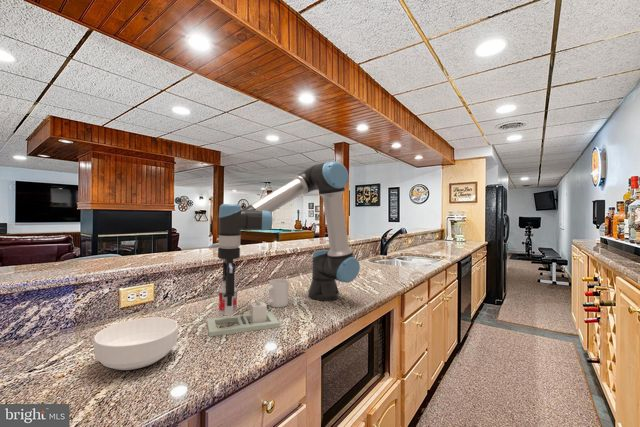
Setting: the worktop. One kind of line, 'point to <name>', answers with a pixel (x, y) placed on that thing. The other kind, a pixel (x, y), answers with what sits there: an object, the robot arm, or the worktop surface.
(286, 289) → the mug
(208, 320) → the faceplate
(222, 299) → the pill bottle
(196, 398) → the worktop surface
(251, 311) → the block
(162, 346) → the bowl
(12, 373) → the worktop surface
